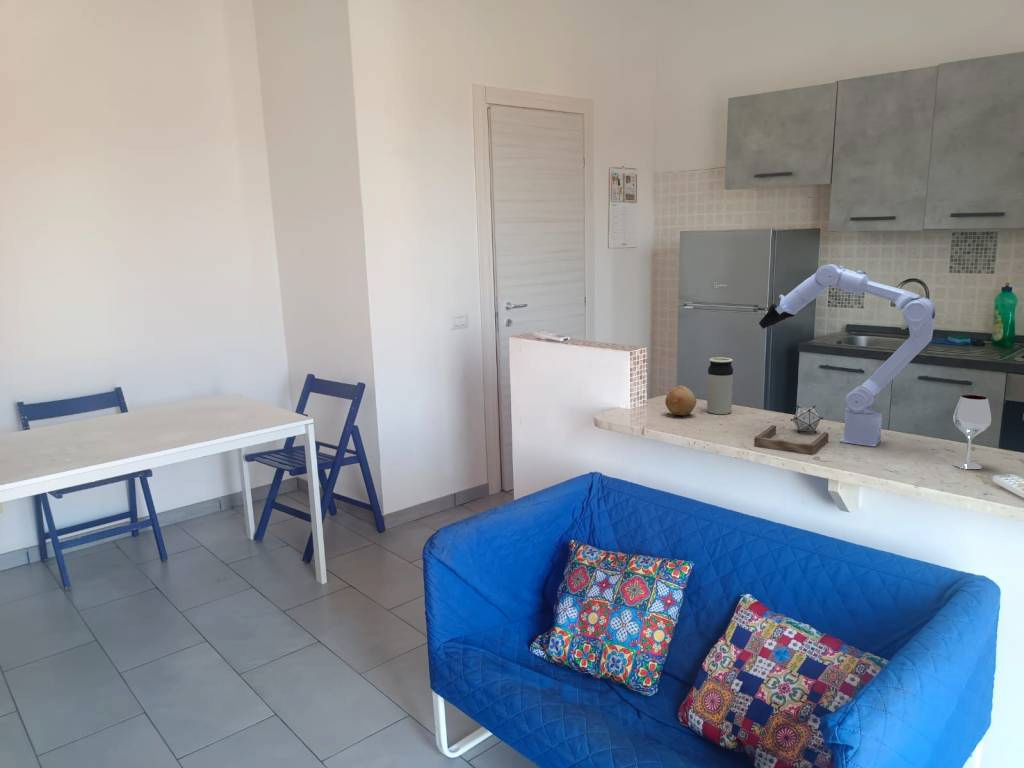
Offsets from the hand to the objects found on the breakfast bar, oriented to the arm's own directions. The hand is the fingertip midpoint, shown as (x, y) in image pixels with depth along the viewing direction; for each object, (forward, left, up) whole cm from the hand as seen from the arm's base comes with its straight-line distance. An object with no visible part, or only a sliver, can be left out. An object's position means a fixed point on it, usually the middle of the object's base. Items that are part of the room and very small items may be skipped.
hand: (765, 324), depth 226 cm
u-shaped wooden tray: (-13, +12, -32) cm, 37 cm away
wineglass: (-56, +10, -32) cm, 65 cm away
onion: (+27, -3, -32) cm, 42 cm away
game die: (-13, -3, -32) cm, 35 cm away
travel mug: (+18, -14, -32) cm, 40 cm away
